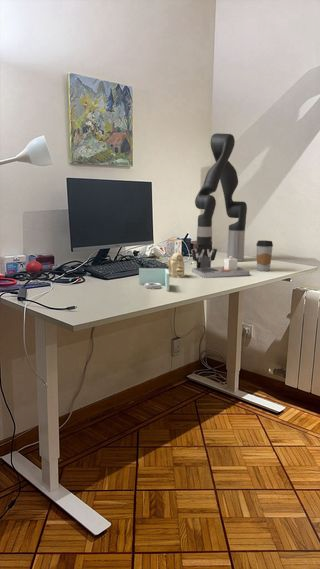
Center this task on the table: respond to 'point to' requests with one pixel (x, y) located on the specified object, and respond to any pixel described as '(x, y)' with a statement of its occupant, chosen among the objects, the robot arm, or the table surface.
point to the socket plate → (220, 272)
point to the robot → (176, 265)
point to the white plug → (230, 263)
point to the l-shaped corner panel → (154, 278)
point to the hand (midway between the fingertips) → (203, 268)
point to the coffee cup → (264, 255)
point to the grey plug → (205, 262)
